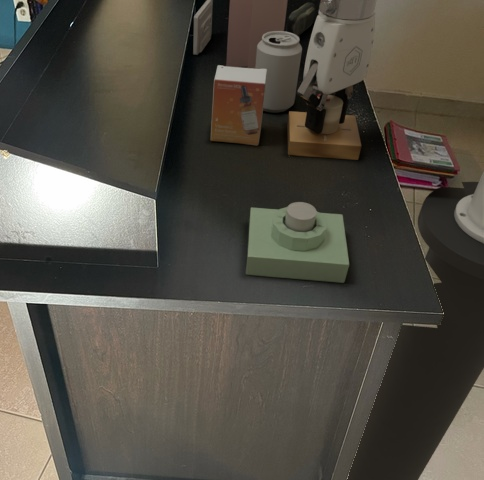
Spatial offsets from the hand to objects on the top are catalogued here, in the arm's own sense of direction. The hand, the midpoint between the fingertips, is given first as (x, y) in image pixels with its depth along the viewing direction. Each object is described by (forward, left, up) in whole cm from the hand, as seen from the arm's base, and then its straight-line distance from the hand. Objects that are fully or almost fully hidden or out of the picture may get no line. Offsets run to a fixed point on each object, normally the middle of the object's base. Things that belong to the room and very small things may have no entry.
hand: (324, 124), depth 92 cm
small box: (+14, 0, -3) cm, 14 cm away
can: (+8, -12, -3) cm, 15 cm away
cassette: (+23, -38, -3) cm, 44 cm away
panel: (0, 0, -3) cm, 3 cm away
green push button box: (+5, +29, -3) cm, 30 cm away
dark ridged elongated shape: (+3, -48, -3) cm, 48 cm away
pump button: (+5, +29, +1) cm, 29 cm away
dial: (0, 0, -1) cm, 1 cm away
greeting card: (+11, -26, -3) cm, 28 cm away
